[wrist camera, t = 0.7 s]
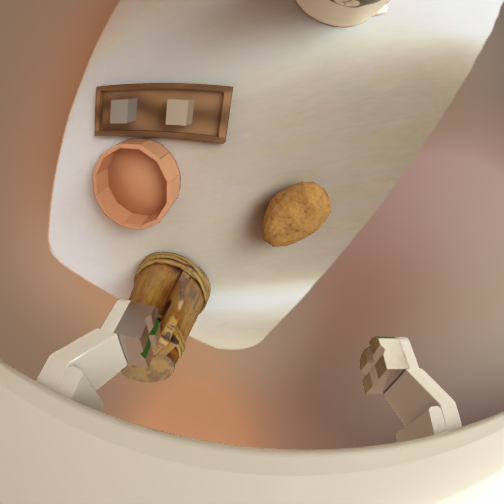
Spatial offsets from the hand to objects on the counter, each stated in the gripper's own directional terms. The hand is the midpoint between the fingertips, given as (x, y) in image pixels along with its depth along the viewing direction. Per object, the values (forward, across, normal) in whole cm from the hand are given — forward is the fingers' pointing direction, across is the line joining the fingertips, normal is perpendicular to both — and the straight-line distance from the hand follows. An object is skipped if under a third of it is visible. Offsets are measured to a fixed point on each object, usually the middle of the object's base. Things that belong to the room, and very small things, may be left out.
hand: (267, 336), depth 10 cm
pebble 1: (+41, +27, -3) cm, 49 cm away
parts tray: (+42, +21, -3) cm, 47 cm away
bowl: (+42, +24, +11) cm, 49 cm away
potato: (+42, -6, +12) cm, 44 cm away
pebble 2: (+41, +16, -3) cm, 44 cm away
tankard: (+42, +16, +34) cm, 56 cm away
